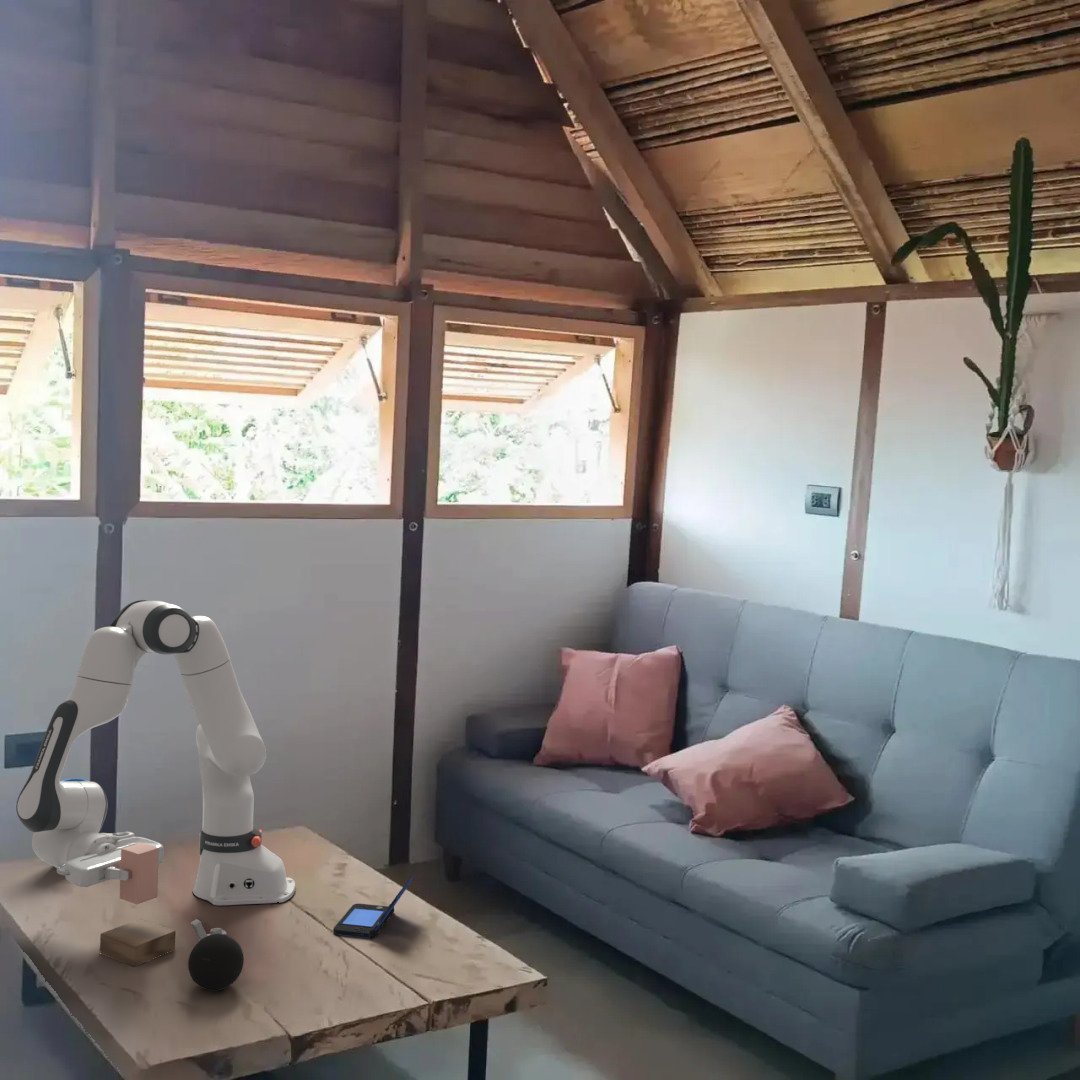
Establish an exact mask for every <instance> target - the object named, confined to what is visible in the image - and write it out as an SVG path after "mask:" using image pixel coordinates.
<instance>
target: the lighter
mask: <svg viewBox="0 0 1080 1080" xmlns="http://www.w3.org/2000/svg"><path fill="white" fill-rule="evenodd" d="M190 924H191V926H192V929H193V931H194V932H195V935H196V937H197V939H198V941H200V940H201V939H203V938H204V937H206V936H209V935H212V934H224V935H227V936H228V932H227V931H225V930H223V929H222V928H220V927H215V928H211V929H210V932H209V933H206V931H205V928H204V926H203V924H202V922H201V921H200V920H199V919H198V918H195V919H194V920H192V922H190Z"/></svg>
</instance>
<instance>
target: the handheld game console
mask: <svg viewBox="0 0 1080 1080" xmlns="http://www.w3.org/2000/svg"><path fill="white" fill-rule="evenodd" d="M413 878H414V877H413V875H411V876H410V877H409V878H408V880H407V881H406V883H404V885H403V887H402V888H401V889H400V891H399V892H397V894H396V896H395V897H394V899H393V900H392V902H390V903H389V905H388V906H387V905H386V906H385V905H378V904H377V905H375V904H367V903H355V904H352V906H351V907H350V908H349V909H348V910H347V911H346V913H344V915H343V916H342V918H340V919H339V921H337V923H336V924H335V926H334V927H333V929H332V931H333V934H334V935H337V936H345V937H354V938H364V939H371V940H375V938H376V937H378V934H379V933H380V931H381V930H382V929H383V925H384V924H386V923H387V922H388V921H389V919H390V918H391V916H393V914H394V913H395V906H396V905H397V903H398V901H399V900H400V899H401V897H403V894H404V893H405V891H406V890H407V889H408V887H409V886H410V884H411V883H412V881H413Z"/></svg>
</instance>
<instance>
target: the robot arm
mask: <svg viewBox="0 0 1080 1080" xmlns="http://www.w3.org/2000/svg"><path fill="white" fill-rule="evenodd" d="M226 645H227V644H226V642H225V640H224V638H223V636H222V634H221V632H220V630H219V628H218V626H217V624H216V623H215V622H214V620H212V618H210V617H208V616H205V615H194V616H191V615H190V614H189V612H187V611H186V610H185V609H183V608H182V607H180V606H179V605H176V604H173V603H168V602H165V601H162V600H146V599H145V600H144V599H140V600H135V601H132V602H130V603H128V604H126V605H125V606H124V607H123V608H122V609H121V610H120V611H119V613H118V614H117V615H116V617H115V619H114V620H113V621H112V622H111V624H110V626H104V627H103V626H102V627H100V628H98V629H96V630H95V631H93V632H92V633H91V635H90V637H89V639H88V641H87V643H86V645H85V648H84V650H83V654H82V657H81V660H80V664H79V667H78V670H77V674H76V679H75V682H74V685H73V687H72V690H71V691H70V693H69V694H68V696H67V698H66V699H65V701H64V702H61V703H60V704H59V705H58V706H57V708H56V709H55V711H54V712H53V714H52V716H51V719H50V721H49V723H48V726H47V729H46V731H45V734H44V737H43V739H42V742H41V744H40V746H39V750H38V752H37V756H36V758H35V759H34V760H35V761H34V763H33V766H32V768H31V772H30V774H29V776H28V777H27V780H26V782H25V784H24V785H23V787H22V789H21V791H20V793H19V795H18V797H17V801H16V813H17V817H18V819H19V821H20V823H21V824H22V825H23V826H24V828H26V829H28V831H31V832H32V833H33V835H32V838H31V847H32V850H33V851H34V854H35V855H36V856H37V857H38V858H39V860H41V861H42V862H44V863H46V864H48V865H50V866H52V867H54V868H55V867H57V868H58V869H57V868H56V874H59V875H61V876H65V880H66V881H68V882H70V883H71V884H74V885H75V886H76V887H77V886H78V887H82V888H88V887H91V886H94V885H97V884H100V883H103V882H106V881H107V882H108V881H109V880H110V881H112V880H120V879H121V880H124V881H126V880H129V879H132V870H129V869H121V849H122V848H125V847H128V846H132V845H135V844H138V843H145V844H148V845H151V846H154V847H158V848H159V861H158V865H159V864H161V863H163V861H164V846H163V844H162V843H160V842H158V841H155V840H152V839H149V838H146V837H143V836H135V833H134V832H131V831H121V832H113V833H112V832H111V833H109V832H108V833H107V832H101V831H102V828H103V825H104V823H105V820H106V816H107V813H108V806H109V804H108V798H107V794H106V792H105V790H104V788H103V787H102V786H101V785H100V784H99V783H98V782H96V781H89V780H88V781H63V780H60V779H61V776H62V774H63V771H64V768H65V765H66V763H67V760H68V757H69V754H70V751H71V749H72V747H73V744H74V743H75V741H77V739H78V738H79V737H80V736H82V734H85V733H86V732H87V731H89V730H92V729H93V728H96V727H99V726H103V725H105V724H108V723H109V722H112V721H113V720H115V719H116V718H117V717H119V716H120V715H121V714H122V713H123V712H124V710H125V709H126V707H127V705H128V702H129V701H130V700H129V699H130V696H131V693H132V691H131V690H132V686H133V681H134V676H135V669H136V668H137V665H138V663H139V661H140V660H141V658H142V657H143V656H144V655H145V654H147V653H149V654H159V655H166V656H167V655H173V657H174V658H175V660H176V663H177V666H178V671H179V673H180V677H181V680H182V683H183V686H184V689H185V692H186V696H187V699H188V701H189V704H190V705H189V706H190V707H191V709H192V710H193V713H194V714H195V717H196V718H197V721H198V723H199V724H198V726H197V728H196V730H195V742H196V746H197V751H198V761H199V762H198V763H199V773H200V778H201V779H200V781H201V788H202V825H201V826H202V828H201V830H200V832H199V839H198V846H199V847H198V848H199V849H198V850H199V856H200V859H199V865H198V870H197V875H196V879H195V882H194V883H195V884H194V886H193V889H192V893H193V894H194V895H195V897H197V898H199V899H202V900H205V901H207V902H209V903H211V904H212V905H213V906H235V905H257V904H260V905H261V904H276V903H277V902H279V903H284V902H286V901H288V900H289V899H291V898H292V897H293V896H294V894H295V892H296V881H295V880H294V879H293V878H291V877H289V876H288V877H287V874H286V868H285V867H286V866H285V865H284V864H285V863H284V861H283V860H282V859H281V858H280V857H279V856H277V854H275V853H274V852H272V851H271V850H269V849H268V848H267V847H266V846H264V845H263V844H262V840H263V833H262V832H263V831H262V829H261V828H260V829H259V830H258V829H257V828H255V826H254V803H255V802H254V801H255V800H254V799H255V794H254V791H253V786H252V783H251V778H250V776H253V775H255V774H256V773H257V772H259V771H260V770H261V769H262V767H263V766H264V764H265V762H266V760H267V759H266V758H267V747H266V744H265V742H264V740H263V738H262V736H261V734H260V732H259V728H258V727H257V724H256V721H255V720H254V717H253V715H252V713H251V711H250V708H249V706H248V704H247V701H246V700H245V698H244V695H243V693H242V691H241V688H240V685H239V682H238V679H237V675H236V672H235V669H234V667H233V662H232V660H231V656H230V653H229V650H228V648H227V646H226ZM279 903H278V904H279Z"/></svg>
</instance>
